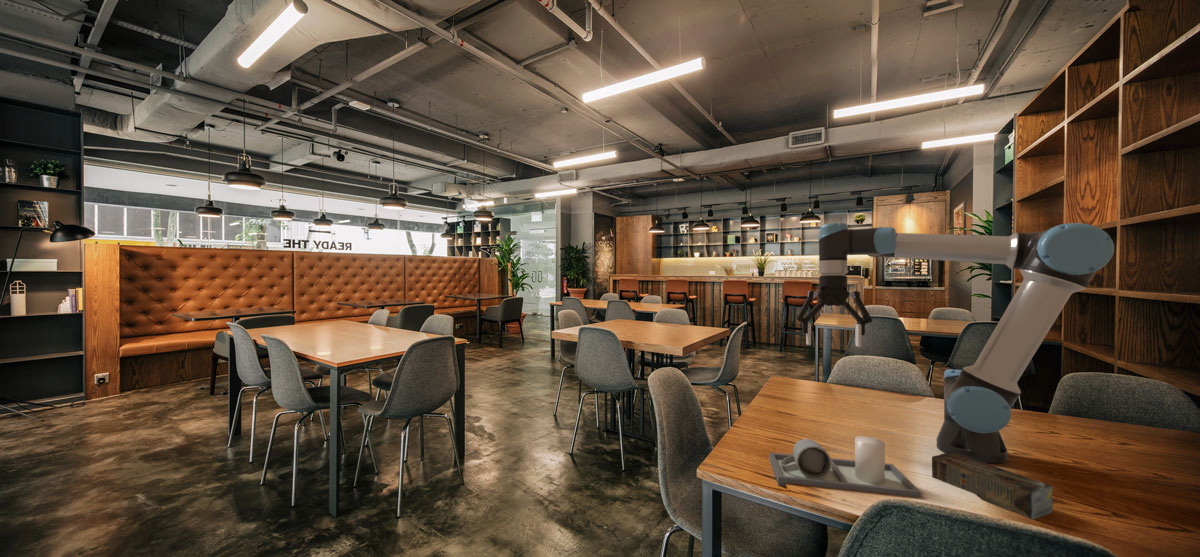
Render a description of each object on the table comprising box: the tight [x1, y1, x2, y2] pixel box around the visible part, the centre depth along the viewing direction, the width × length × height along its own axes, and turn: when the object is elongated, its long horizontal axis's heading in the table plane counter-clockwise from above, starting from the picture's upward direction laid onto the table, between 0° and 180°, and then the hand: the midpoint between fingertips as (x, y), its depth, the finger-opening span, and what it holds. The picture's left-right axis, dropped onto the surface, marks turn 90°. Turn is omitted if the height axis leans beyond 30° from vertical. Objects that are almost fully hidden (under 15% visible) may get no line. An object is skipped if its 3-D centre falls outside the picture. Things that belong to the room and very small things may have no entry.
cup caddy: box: [769, 452, 922, 499], centre depth 104 cm, size 29×15×2 cm, turn 76°
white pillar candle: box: [854, 435, 886, 484], centre depth 103 cm, size 6×6×9 cm
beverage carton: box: [931, 452, 1054, 521], centre depth 97 cm, size 8×19×7 cm, turn 21°
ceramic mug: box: [781, 438, 832, 479], centre depth 106 cm, size 11×8×8 cm
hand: (833, 345), depth 129 cm, fingers open, 13 cm apart
